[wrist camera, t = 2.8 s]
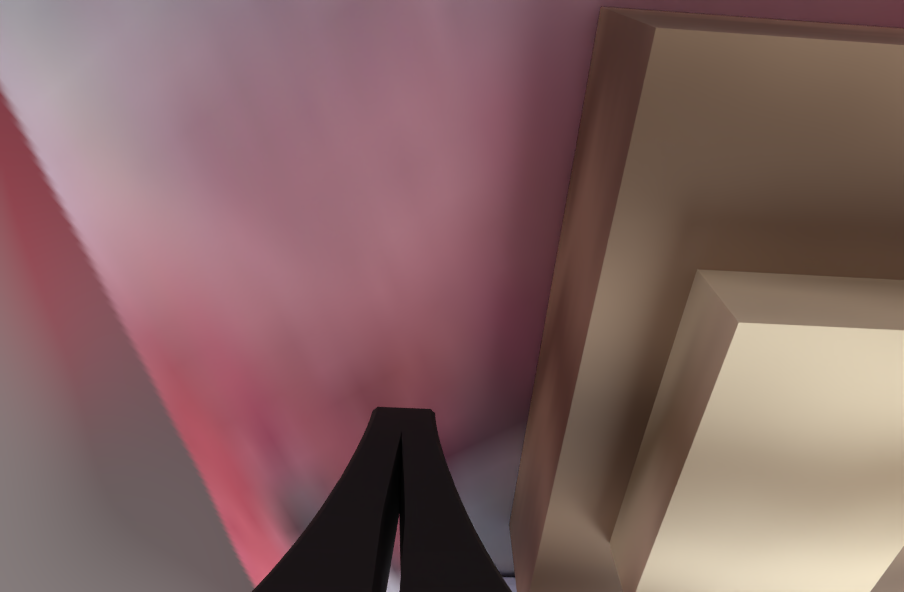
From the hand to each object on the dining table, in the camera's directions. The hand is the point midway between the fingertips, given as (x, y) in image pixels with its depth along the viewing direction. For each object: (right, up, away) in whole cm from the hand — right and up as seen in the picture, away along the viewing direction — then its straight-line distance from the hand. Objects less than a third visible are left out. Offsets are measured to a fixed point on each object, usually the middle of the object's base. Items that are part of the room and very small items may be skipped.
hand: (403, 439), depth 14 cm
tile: (+9, 0, +1) cm, 9 cm away
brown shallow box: (+10, +2, +4) cm, 11 cm away
